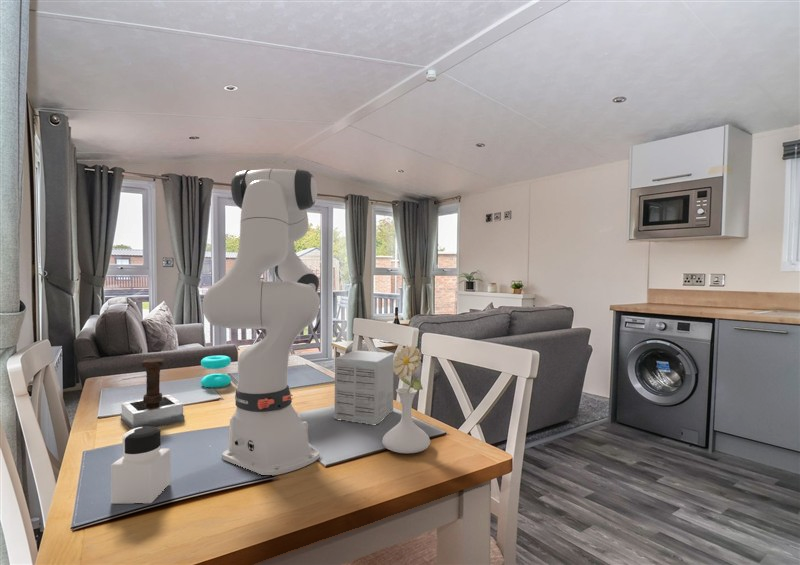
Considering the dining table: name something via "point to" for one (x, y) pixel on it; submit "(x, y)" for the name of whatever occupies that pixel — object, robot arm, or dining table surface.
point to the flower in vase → (407, 406)
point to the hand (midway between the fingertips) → (232, 307)
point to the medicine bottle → (140, 468)
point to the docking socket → (152, 413)
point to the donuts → (215, 379)
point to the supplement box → (364, 386)
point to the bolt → (152, 382)
